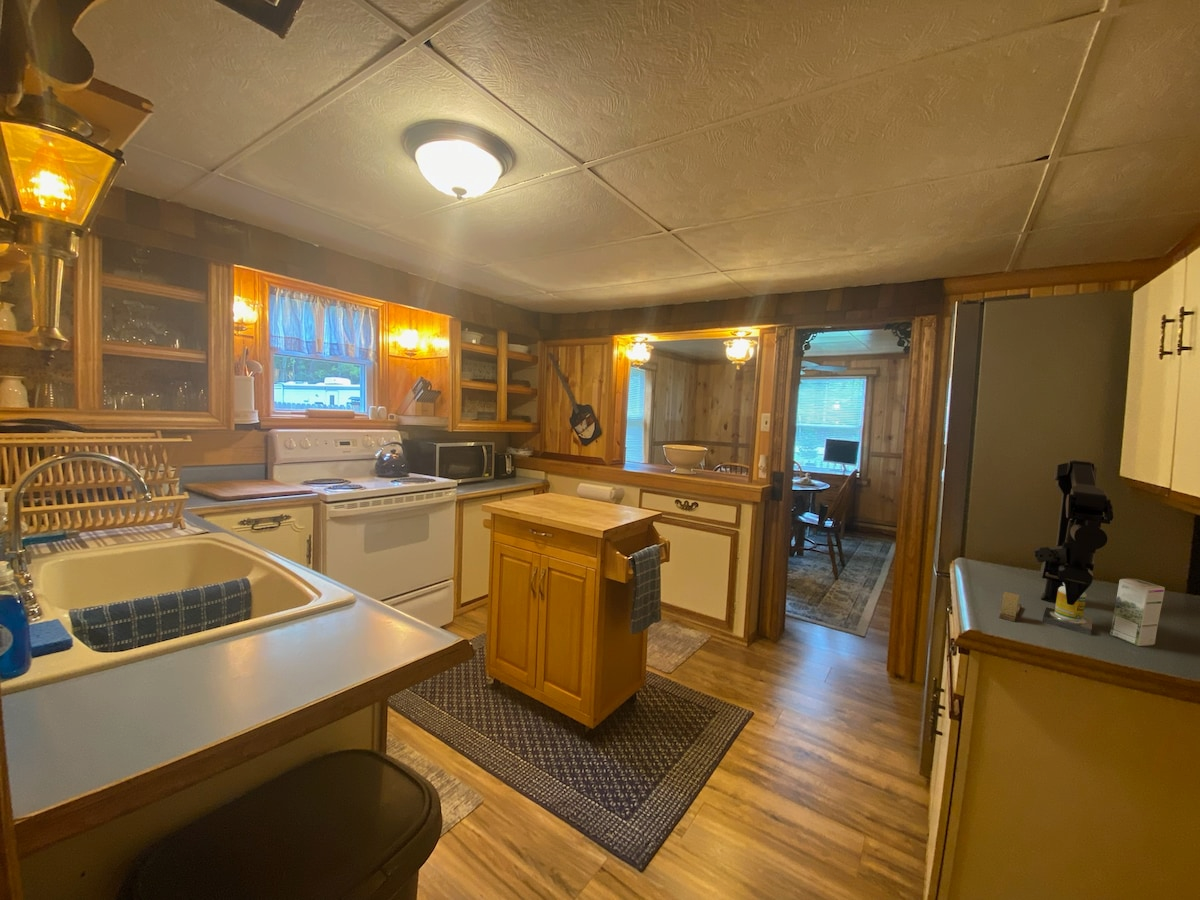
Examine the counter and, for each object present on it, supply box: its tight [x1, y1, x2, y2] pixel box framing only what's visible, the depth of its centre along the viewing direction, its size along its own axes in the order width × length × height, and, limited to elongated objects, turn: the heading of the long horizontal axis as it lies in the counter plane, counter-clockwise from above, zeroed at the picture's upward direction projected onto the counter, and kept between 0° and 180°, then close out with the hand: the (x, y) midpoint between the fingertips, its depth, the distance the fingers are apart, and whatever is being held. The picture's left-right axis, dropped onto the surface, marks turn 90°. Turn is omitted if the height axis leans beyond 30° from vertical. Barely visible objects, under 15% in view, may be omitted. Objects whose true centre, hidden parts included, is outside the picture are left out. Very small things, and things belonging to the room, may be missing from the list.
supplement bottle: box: [1054, 583, 1087, 621], centre depth 130 cm, size 5×5×10 cm
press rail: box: [999, 602, 1022, 623], centre depth 135 cm, size 14×3×1 cm, turn 135°
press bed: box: [1042, 606, 1093, 636], centre depth 130 cm, size 9×9×2 cm
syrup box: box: [1109, 577, 1166, 647], centre depth 122 cm, size 6×6×14 cm
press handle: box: [1000, 591, 1021, 617], centre depth 131 cm, size 3×3×5 cm
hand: (1070, 599), depth 130 cm, fingers open, 9 cm apart
